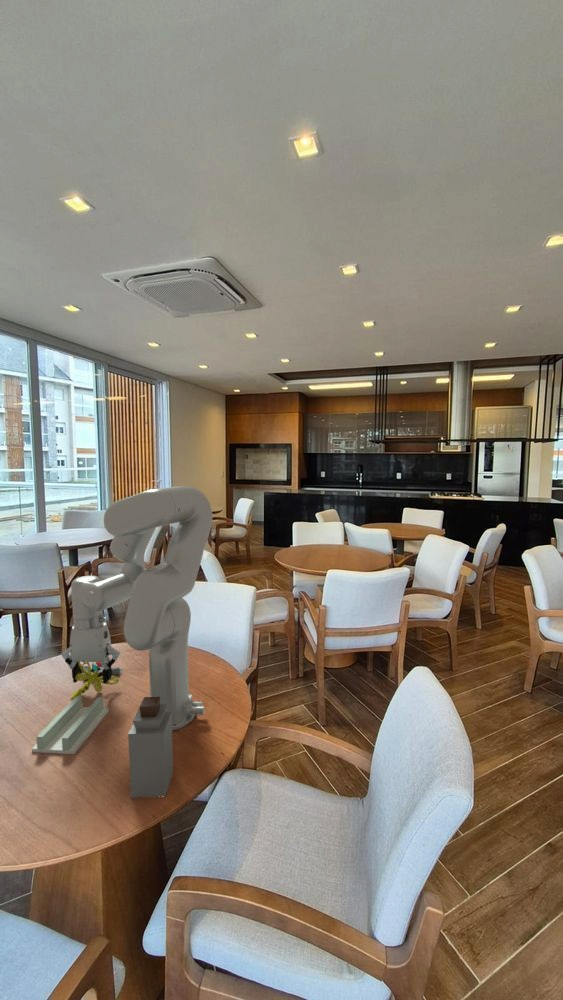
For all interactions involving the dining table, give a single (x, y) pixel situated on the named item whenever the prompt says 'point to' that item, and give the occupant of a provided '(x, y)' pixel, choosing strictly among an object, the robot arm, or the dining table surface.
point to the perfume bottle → (151, 749)
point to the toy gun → (101, 669)
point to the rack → (71, 727)
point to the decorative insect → (90, 680)
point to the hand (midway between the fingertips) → (92, 680)
